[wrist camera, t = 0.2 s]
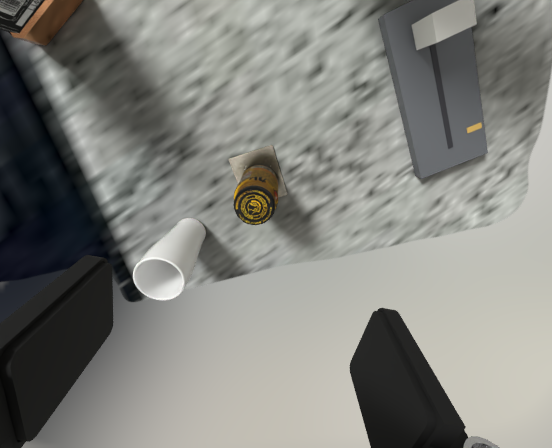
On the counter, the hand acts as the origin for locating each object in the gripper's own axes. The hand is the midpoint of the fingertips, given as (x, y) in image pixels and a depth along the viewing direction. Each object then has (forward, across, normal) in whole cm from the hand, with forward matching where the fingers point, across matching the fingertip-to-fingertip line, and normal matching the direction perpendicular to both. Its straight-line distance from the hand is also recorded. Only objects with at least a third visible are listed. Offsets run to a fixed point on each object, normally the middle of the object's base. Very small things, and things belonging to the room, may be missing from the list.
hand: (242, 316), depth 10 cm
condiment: (+37, +1, +4) cm, 37 cm away
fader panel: (+37, -22, -14) cm, 45 cm away
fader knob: (+34, -17, -20) cm, 43 cm away
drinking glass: (+37, +10, +16) cm, 42 cm away
